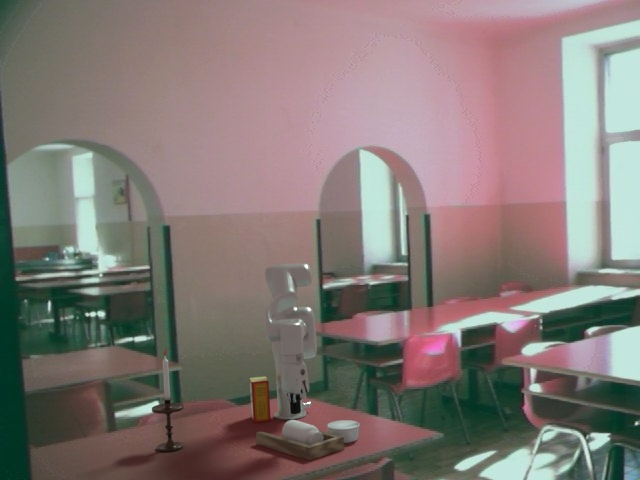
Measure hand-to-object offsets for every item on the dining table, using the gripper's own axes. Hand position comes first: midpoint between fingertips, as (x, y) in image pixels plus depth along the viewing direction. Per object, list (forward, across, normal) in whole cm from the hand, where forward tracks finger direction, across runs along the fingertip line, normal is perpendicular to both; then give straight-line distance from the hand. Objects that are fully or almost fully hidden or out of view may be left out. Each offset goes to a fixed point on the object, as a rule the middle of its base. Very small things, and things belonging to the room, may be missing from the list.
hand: (295, 413), depth 240 cm
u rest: (+11, -1, 0) cm, 11 cm away
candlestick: (+11, +34, +29) cm, 46 cm away
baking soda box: (+11, +39, -14) cm, 43 cm away
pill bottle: (+7, +5, -1) cm, 9 cm away
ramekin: (+12, -7, -15) cm, 20 cm away
